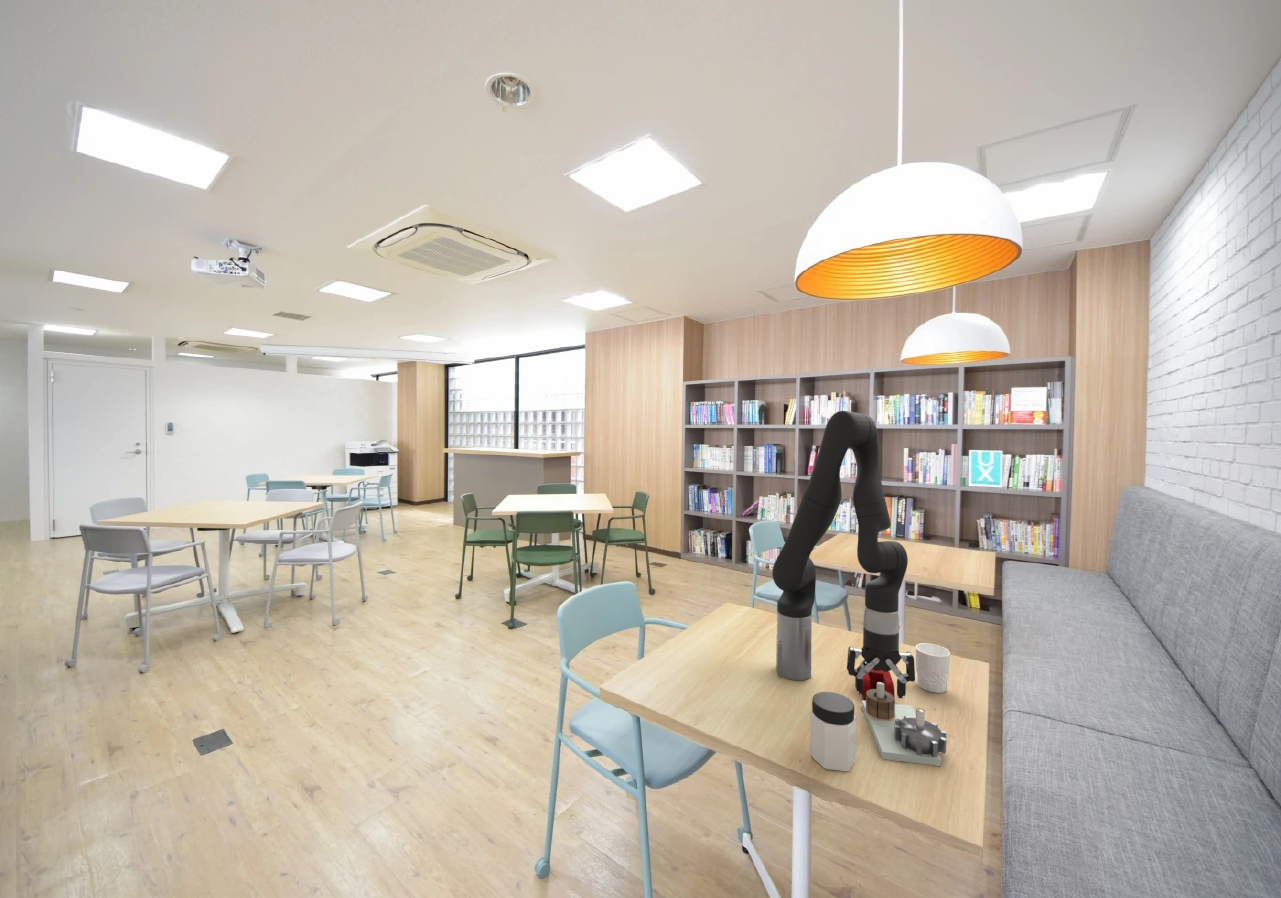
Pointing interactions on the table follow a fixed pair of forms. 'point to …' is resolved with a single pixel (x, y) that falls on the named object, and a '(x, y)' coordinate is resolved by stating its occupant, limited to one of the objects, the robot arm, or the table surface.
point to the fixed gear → (920, 734)
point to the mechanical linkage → (877, 676)
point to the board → (885, 735)
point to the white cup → (932, 667)
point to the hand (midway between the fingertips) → (879, 694)
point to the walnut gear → (880, 705)
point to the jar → (833, 731)
